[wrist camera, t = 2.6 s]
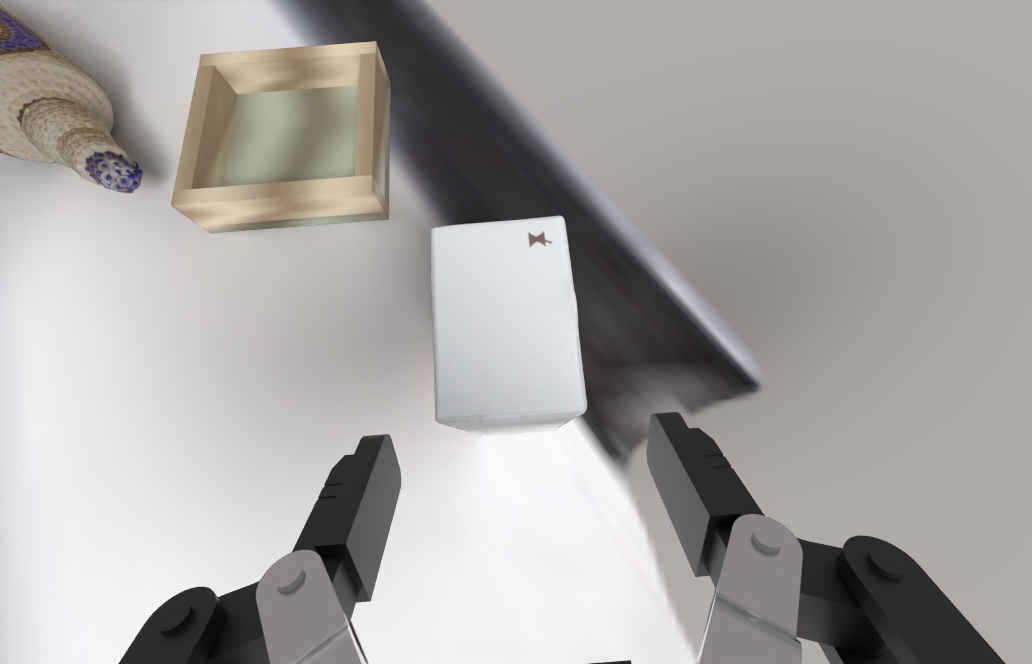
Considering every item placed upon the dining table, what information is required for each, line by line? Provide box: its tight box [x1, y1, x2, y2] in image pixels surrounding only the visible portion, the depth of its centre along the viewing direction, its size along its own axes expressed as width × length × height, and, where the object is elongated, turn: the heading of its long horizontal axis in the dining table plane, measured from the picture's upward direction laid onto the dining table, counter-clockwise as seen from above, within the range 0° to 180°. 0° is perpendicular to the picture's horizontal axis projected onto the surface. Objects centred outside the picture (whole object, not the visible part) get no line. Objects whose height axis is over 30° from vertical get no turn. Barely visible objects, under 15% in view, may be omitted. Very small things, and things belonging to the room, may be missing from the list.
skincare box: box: [431, 216, 587, 436], centre depth 17 cm, size 6×4×12 cm
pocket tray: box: [171, 42, 390, 233], centre depth 26 cm, size 12×12×3 cm
